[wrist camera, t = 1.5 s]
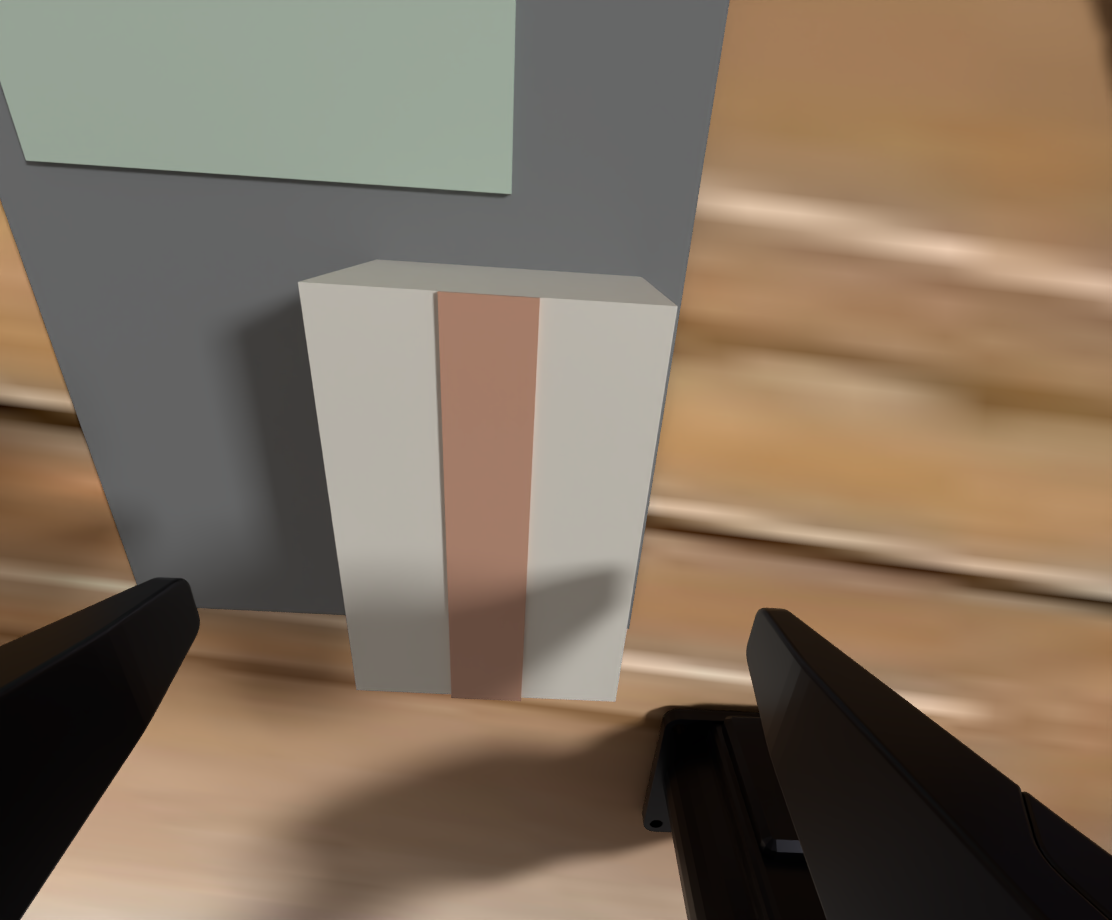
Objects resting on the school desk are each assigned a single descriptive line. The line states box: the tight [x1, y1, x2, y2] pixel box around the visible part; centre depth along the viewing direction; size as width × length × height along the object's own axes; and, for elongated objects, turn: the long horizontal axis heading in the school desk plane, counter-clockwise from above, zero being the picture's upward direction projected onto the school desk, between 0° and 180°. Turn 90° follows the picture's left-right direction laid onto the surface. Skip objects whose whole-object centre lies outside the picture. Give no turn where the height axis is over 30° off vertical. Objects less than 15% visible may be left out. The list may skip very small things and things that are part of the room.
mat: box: [0, 0, 729, 629], centre depth 11 cm, size 23×15×1 cm, turn 176°
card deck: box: [298, 259, 678, 702], centre depth 12 cm, size 9×6×4 cm, turn 176°
